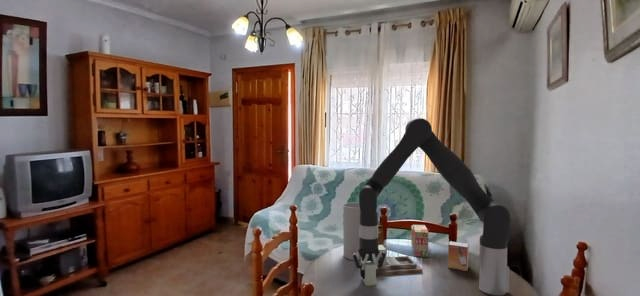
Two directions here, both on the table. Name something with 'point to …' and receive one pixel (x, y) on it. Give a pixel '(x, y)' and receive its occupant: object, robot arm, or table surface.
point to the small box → (458, 255)
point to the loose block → (370, 273)
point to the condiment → (380, 235)
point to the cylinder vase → (351, 229)
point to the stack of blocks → (419, 240)
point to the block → (382, 248)
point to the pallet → (399, 266)
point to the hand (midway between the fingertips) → (368, 277)
